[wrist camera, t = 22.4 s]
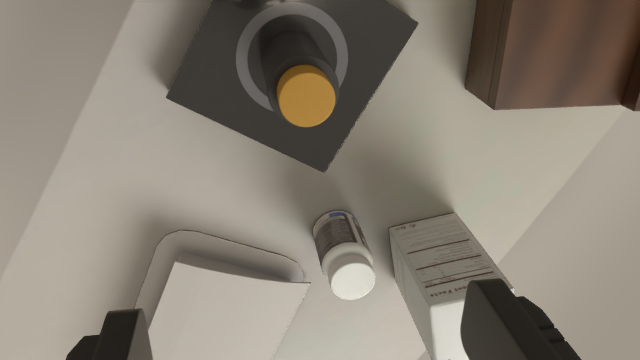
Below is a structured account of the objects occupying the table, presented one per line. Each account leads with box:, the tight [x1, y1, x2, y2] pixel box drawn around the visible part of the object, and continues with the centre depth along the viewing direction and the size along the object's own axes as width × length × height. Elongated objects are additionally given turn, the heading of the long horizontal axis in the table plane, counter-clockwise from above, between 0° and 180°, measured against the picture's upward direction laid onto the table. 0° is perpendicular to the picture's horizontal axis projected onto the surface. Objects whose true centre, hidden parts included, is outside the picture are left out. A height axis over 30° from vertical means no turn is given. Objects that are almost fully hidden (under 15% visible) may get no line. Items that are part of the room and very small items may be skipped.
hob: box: [166, 0, 418, 173], centre depth 42 cm, size 15×15×2 cm
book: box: [134, 230, 311, 360], centre depth 53 cm, size 15×23×4 cm, turn 156°
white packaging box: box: [389, 213, 514, 360], centre depth 48 cm, size 7×7×13 cm
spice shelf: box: [465, 0, 640, 111], centre depth 42 cm, size 12×10×8 cm
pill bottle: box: [313, 211, 375, 300], centre depth 48 cm, size 5×5×8 cm
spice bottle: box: [262, 31, 339, 127], centre depth 36 cm, size 5×5×10 cm
